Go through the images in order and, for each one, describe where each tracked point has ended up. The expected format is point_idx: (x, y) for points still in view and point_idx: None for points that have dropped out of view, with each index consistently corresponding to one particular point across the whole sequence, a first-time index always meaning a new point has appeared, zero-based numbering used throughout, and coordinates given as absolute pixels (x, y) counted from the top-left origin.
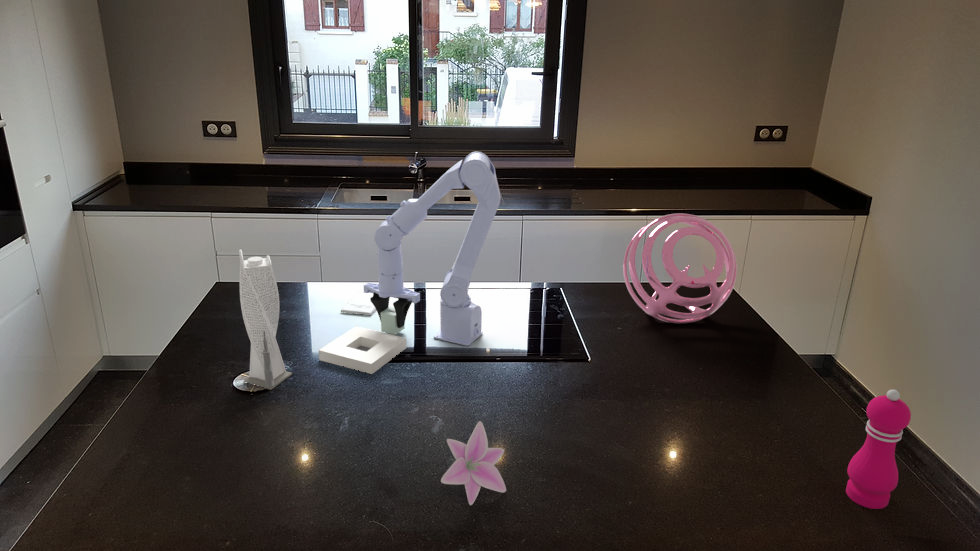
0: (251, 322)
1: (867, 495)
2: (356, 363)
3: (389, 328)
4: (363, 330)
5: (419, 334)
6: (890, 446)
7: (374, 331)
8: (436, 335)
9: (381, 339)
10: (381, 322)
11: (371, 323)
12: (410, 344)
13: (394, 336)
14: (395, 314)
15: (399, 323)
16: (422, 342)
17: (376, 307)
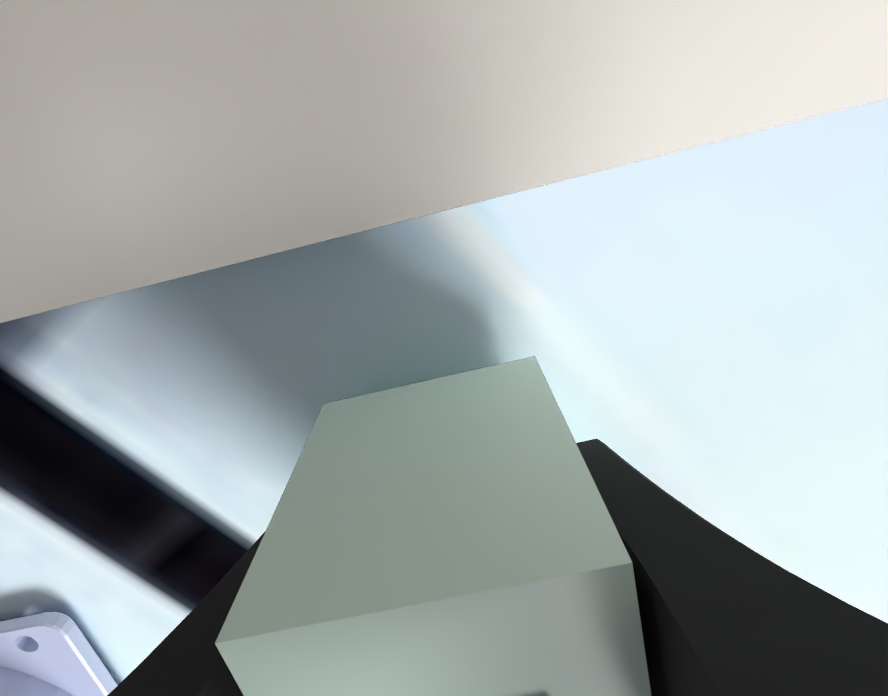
0: None
1: None
2: None
3: (405, 420)
4: (672, 49)
5: None
6: None
7: (474, 167)
8: (53, 650)
9: (104, 6)
10: (557, 425)
11: (829, 460)
12: (94, 388)
13: (70, 263)
14: (265, 687)
15: (246, 553)
16: (61, 495)
17: (853, 652)
